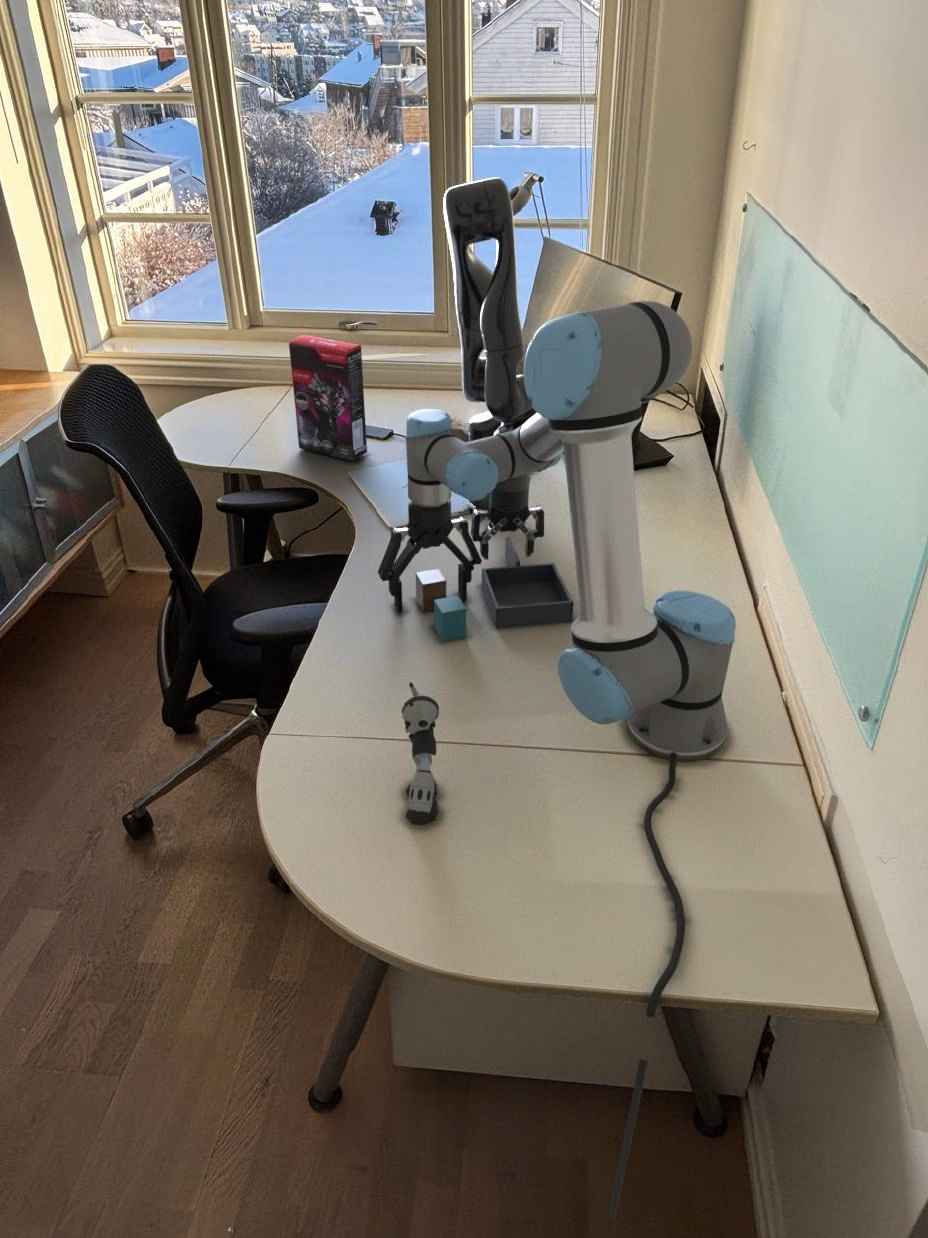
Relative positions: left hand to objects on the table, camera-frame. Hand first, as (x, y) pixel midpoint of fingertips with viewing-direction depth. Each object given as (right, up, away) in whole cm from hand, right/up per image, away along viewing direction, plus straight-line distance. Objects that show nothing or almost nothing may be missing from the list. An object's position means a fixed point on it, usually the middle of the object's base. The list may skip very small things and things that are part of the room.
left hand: (506, 556), depth 184 cm
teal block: (-11, -15, -19) cm, 27 cm away
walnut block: (-15, -10, -11) cm, 21 cm away
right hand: (-15, -9, -11) cm, 21 cm away
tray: (+2, -7, -7) cm, 10 cm away
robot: (-14, -39, -54) cm, 68 cm away
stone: (-12, +34, +53) cm, 64 cm away
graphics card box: (-41, +29, +46) cm, 68 cm away
